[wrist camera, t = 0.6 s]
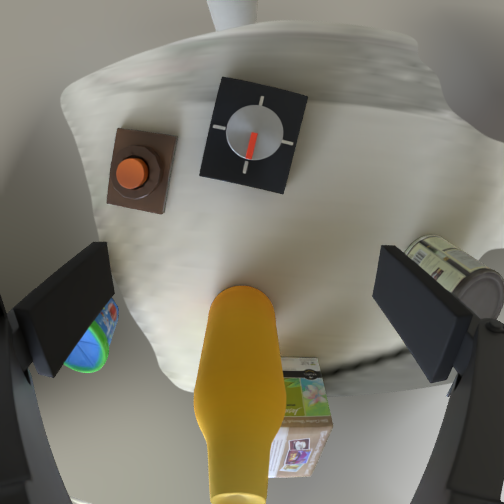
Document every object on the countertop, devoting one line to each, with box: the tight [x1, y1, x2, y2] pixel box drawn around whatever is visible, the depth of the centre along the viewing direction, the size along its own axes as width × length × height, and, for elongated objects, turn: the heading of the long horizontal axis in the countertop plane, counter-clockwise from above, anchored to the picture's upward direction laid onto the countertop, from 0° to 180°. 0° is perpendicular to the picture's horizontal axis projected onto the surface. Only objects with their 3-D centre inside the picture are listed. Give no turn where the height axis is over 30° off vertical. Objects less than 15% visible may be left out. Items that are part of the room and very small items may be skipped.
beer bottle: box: [194, 286, 286, 504], centre depth 31 cm, size 9×9×29 cm
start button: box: [116, 158, 148, 189], centre depth 34 cm, size 4×4×2 cm
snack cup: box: [64, 297, 119, 373], centre depth 40 cm, size 16×10×10 cm
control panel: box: [199, 77, 308, 194], centre depth 35 cm, size 12×10×3 cm
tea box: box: [268, 357, 333, 478], centre depth 43 cm, size 15×10×15 cm, turn 176°
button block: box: [107, 128, 178, 214], centre depth 36 cm, size 10×8×3 cm
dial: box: [226, 105, 283, 160], centre depth 30 cm, size 5×5×8 cm
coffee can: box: [405, 235, 504, 320], centre depth 36 cm, size 10×10×14 cm
